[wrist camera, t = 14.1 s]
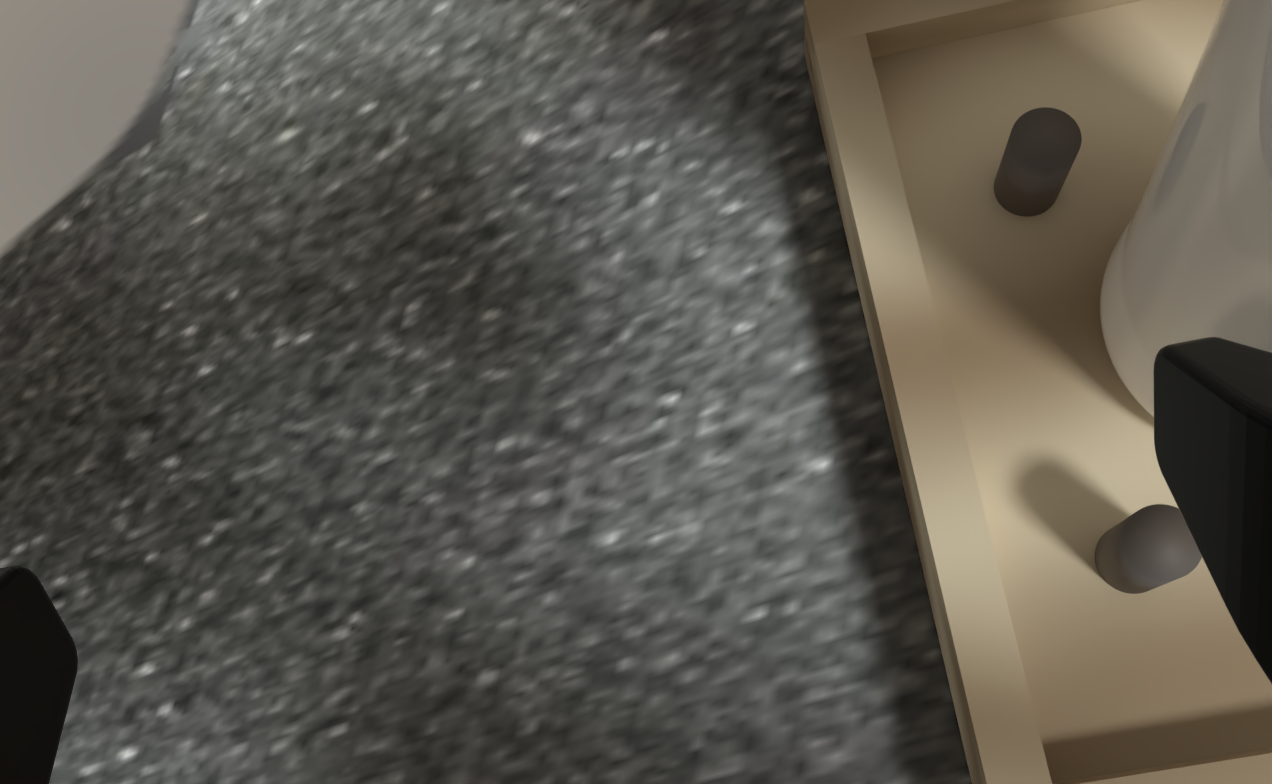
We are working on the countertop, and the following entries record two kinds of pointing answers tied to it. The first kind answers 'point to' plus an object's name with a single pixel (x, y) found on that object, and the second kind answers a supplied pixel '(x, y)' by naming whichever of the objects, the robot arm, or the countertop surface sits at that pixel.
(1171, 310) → the drinking glass
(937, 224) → the pin tray
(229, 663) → the countertop surface
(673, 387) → the countertop surface
